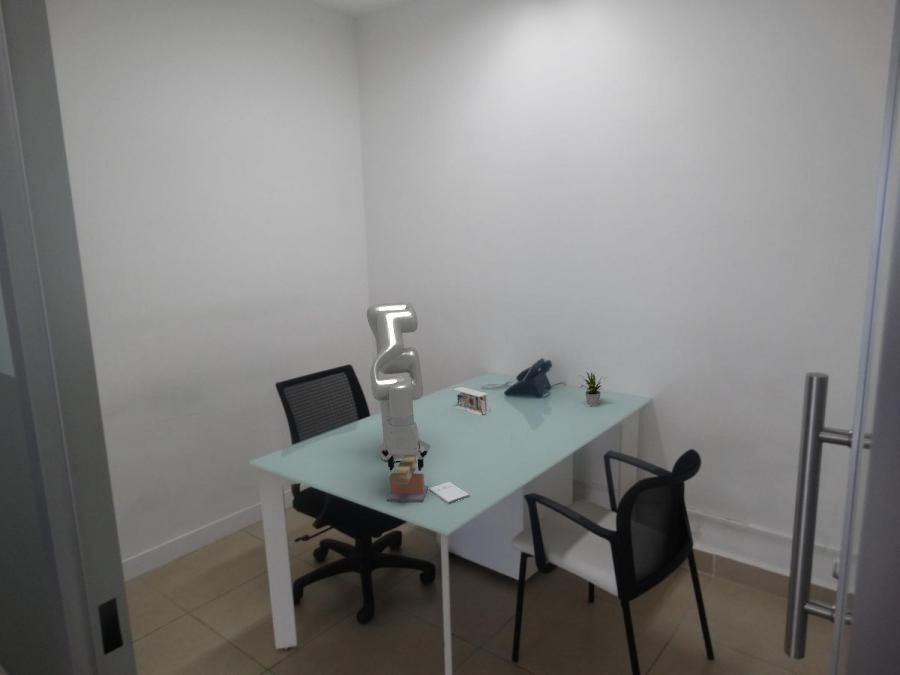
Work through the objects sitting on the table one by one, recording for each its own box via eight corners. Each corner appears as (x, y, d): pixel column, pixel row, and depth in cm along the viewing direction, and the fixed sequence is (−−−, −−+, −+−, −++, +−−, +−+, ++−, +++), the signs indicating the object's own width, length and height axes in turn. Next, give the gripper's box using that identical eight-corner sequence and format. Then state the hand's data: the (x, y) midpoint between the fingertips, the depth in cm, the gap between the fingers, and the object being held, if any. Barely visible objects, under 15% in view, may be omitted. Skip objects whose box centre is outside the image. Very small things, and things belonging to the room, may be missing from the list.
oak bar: (405, 466, 195) (404, 455, 194) (416, 466, 195) (416, 455, 194) (395, 484, 182) (394, 472, 181) (407, 484, 181) (406, 472, 180)
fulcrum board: (394, 487, 195) (392, 468, 194) (428, 488, 193) (427, 469, 192) (386, 501, 186) (385, 481, 184) (422, 502, 184) (421, 482, 182)
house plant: (570, 402, 276) (569, 369, 273) (595, 398, 280) (595, 366, 277) (585, 410, 262) (585, 376, 259) (611, 406, 266) (611, 372, 263)
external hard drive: (448, 506, 181) (429, 492, 192) (469, 498, 185) (449, 485, 196) (448, 501, 181) (429, 487, 191) (469, 494, 185) (449, 481, 196)
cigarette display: (454, 407, 279) (453, 389, 277) (462, 404, 282) (461, 386, 281) (482, 416, 264) (481, 396, 262) (490, 413, 267) (489, 394, 265)
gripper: (373, 423, 182) (377, 473, 185) (426, 423, 179) (429, 474, 183) (379, 416, 190) (384, 464, 193) (430, 416, 187) (433, 464, 190)
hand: (406, 469), depth 188 cm, fingers open, 9 cm apart
